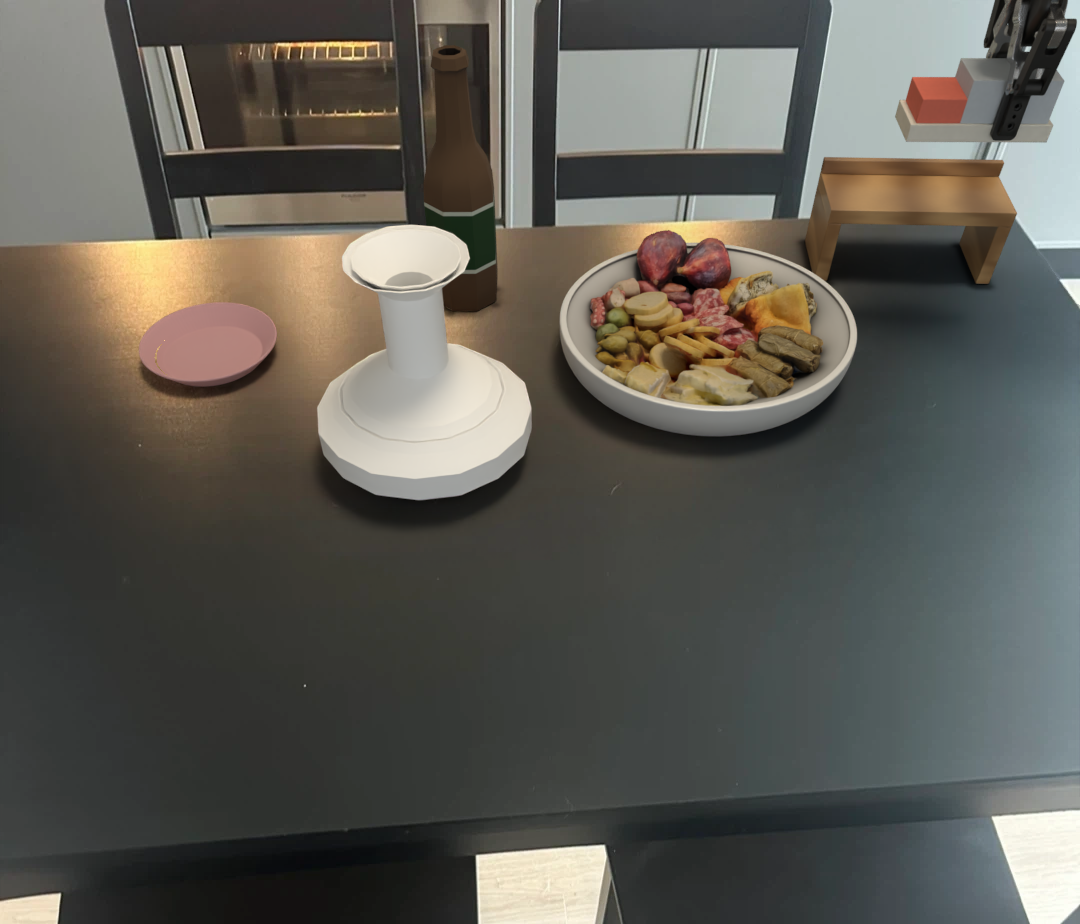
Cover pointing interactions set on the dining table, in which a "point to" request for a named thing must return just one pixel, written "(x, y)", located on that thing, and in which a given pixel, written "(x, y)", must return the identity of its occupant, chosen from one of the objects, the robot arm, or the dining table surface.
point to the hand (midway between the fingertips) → (993, 123)
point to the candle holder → (420, 382)
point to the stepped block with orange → (971, 105)
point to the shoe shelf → (912, 204)
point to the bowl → (706, 336)
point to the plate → (208, 343)
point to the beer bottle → (461, 184)
